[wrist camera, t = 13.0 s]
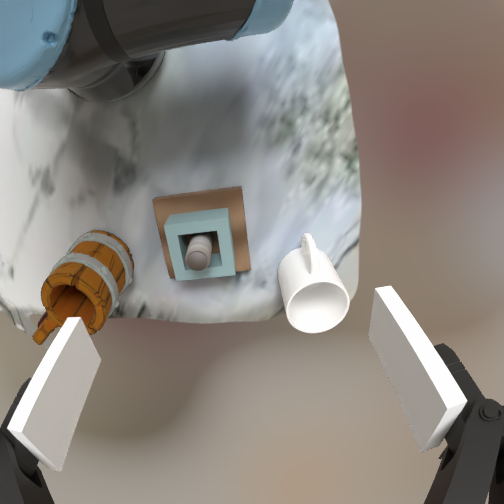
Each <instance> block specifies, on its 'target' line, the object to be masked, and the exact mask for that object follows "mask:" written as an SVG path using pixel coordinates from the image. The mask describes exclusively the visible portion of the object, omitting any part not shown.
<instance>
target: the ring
mask: <svg viewBox="0 0 504 504" xmlns="http://www.w3.org/2000/svg"><path fill="white" fill-rule="evenodd" d="M164 229H165V234H166V238H167V243H168V247H169V252H170V256H171V261H172V265H173V269H174V273H175V278H176V281H182V280H193V279H203V278H213V277H222V276H232V275H236V270H235V254H234V246H233V239H232V232H231V224H230V216H229V209H228V208H220V209H211V210H203V211H195V212H187V213H180V214H172V215H169V217H168V219H167V221H166V222H165V224H164ZM209 231H217V234H218V240H219V247H220V253H216V254H211V259H210V264H209V266H208V267H207V268H206V269H204V270H202V271H194V270H192V269H190V268H189V267H188V266H187V265H186V262H185V256H186V253H187V245H186V240H185V235H184V234H192V233H201V232H209Z"/></svg>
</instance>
